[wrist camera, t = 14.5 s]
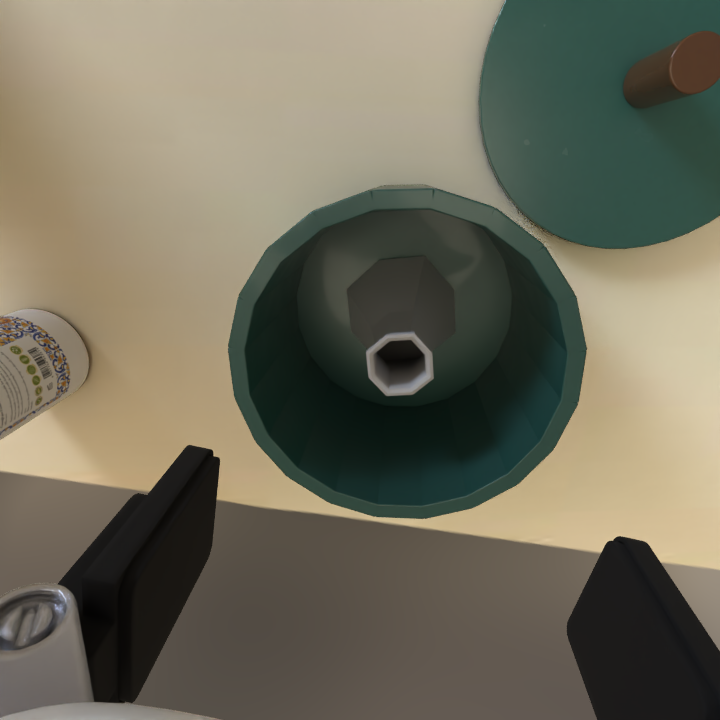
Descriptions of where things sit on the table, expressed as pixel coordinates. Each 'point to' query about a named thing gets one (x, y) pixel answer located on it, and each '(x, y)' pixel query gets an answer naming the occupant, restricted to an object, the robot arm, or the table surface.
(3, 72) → the table surface
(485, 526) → the table surface
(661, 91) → the tin lid
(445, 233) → the tin
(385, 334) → the flask
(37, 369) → the bath foam
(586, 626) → the robot arm
